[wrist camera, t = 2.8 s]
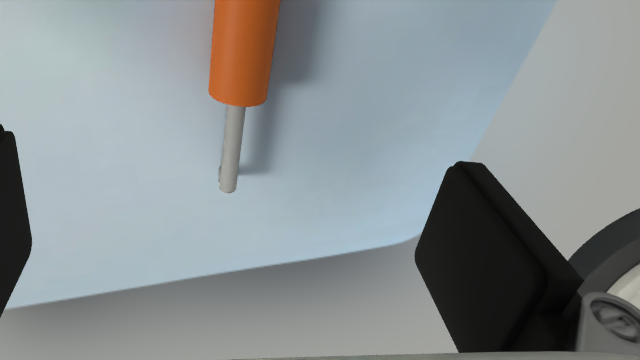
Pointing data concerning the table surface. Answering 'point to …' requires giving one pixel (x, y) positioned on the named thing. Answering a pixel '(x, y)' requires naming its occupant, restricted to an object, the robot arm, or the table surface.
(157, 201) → the table surface
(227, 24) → the screwdriver
